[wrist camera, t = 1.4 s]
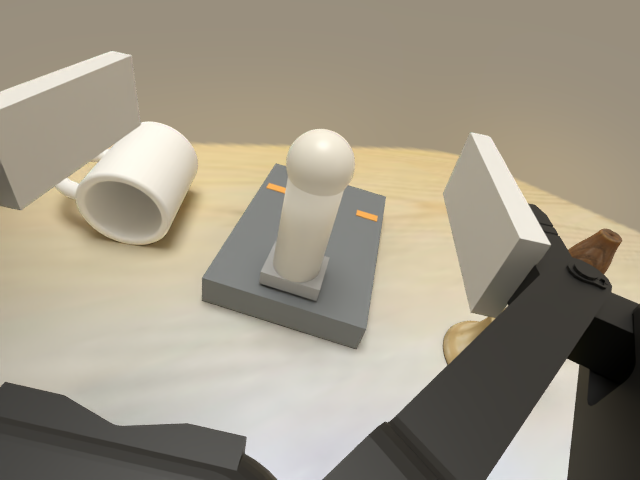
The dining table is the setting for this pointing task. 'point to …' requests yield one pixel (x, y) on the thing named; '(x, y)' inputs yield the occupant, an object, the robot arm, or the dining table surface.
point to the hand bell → (460, 335)
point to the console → (340, 276)
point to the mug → (136, 184)
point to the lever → (308, 212)
